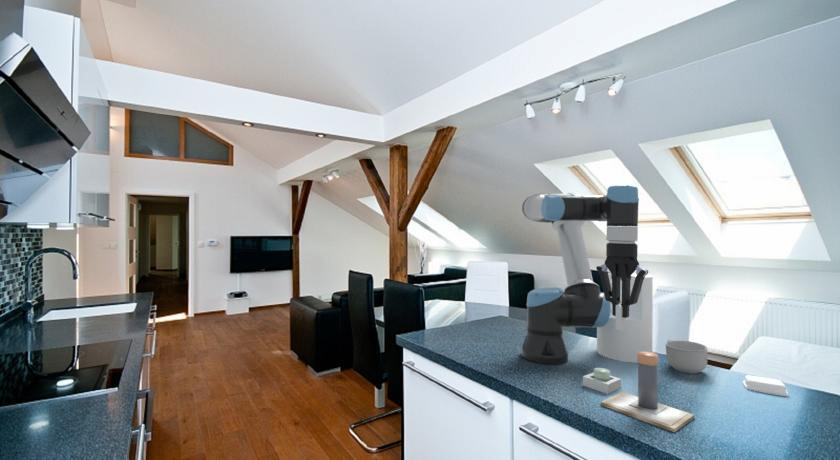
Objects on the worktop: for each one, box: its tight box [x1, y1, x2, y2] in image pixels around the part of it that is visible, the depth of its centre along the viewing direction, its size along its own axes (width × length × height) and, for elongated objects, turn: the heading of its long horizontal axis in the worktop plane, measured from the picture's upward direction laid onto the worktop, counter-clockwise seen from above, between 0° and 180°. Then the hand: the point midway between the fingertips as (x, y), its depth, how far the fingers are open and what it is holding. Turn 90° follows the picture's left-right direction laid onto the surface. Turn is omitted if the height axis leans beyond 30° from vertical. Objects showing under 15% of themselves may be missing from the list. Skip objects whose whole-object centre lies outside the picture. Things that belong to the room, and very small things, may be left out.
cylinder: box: [596, 272, 654, 364], centre depth 135 cm, size 17×17×28 cm
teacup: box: [664, 338, 708, 374], centre depth 121 cm, size 14×11×8 cm
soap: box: [742, 375, 789, 397], centre depth 105 cm, size 9×7×3 cm
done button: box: [593, 367, 611, 382], centre depth 105 cm, size 4×4×3 cm
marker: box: [637, 352, 659, 410], centre depth 91 cm, size 4×4×12 cm
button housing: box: [582, 371, 622, 395], centre depth 105 cm, size 7×7×2 cm
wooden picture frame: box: [600, 391, 695, 433], centre depth 91 cm, size 16×11×1 cm
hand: (620, 328), depth 105 cm, fingers closed
